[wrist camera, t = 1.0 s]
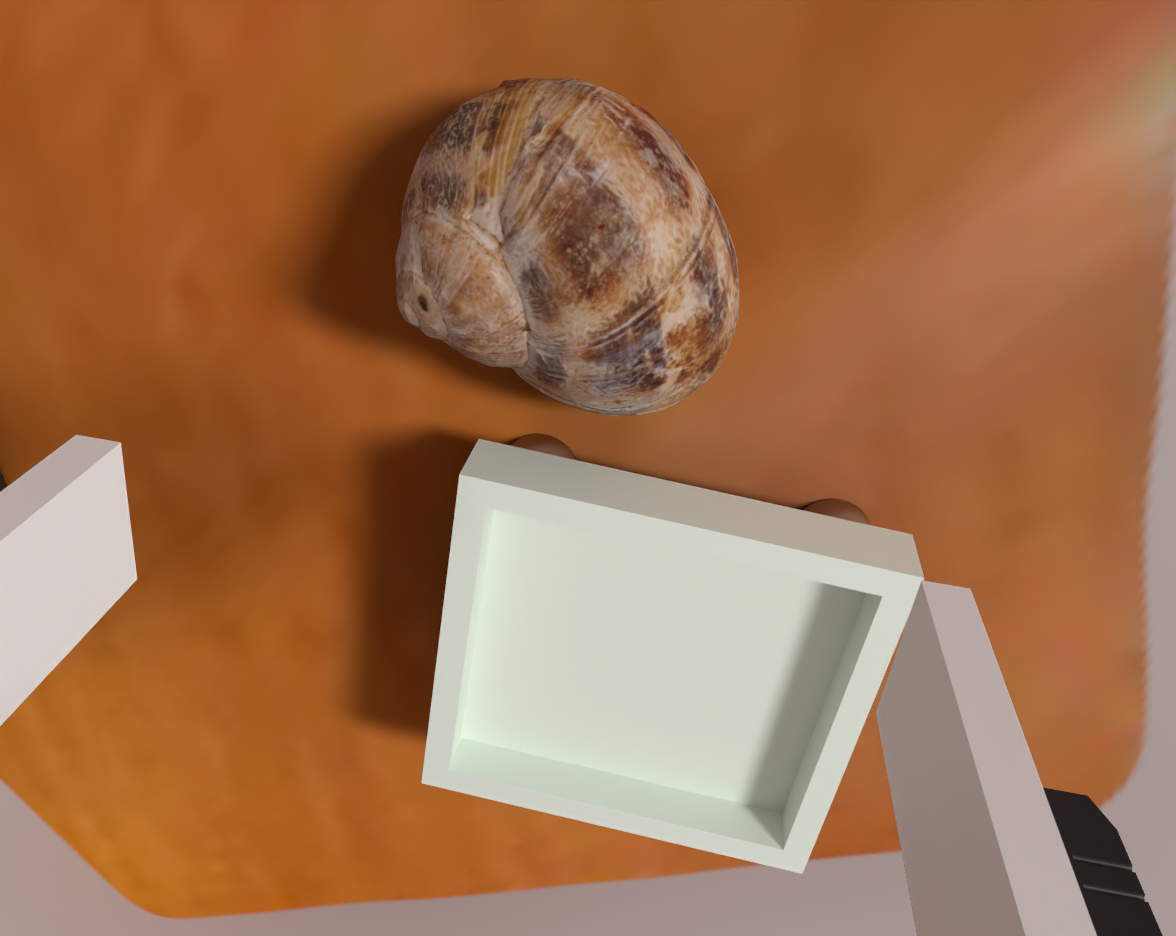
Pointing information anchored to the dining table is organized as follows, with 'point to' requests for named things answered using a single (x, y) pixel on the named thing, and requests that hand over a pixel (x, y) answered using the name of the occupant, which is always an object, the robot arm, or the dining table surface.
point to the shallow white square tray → (659, 650)
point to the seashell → (569, 248)
